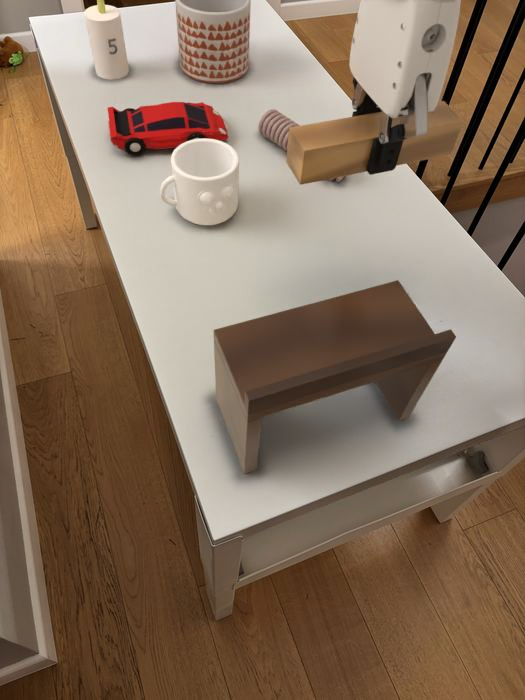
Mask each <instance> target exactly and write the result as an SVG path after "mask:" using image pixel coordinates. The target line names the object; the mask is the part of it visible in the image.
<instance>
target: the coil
mask: <svg viewBox="0 0 525 700" xmlns="http://www.w3.org/2000/svg"><path fill="white" fill-rule="evenodd" d="M296 126H301V125H300V124H299V123H298V122H296V121H294V120H292V119H291V118H290V117H288V116H286V115H285V114H283V113H282V112H280V111H279V110H277V109H274V108H273V109H268V110H267V111H266V112H264V114H263V115H262V116H261V118H260V119H259V122H258V127H257V129H258V132H259V134H260V135H262V136H264V138H267V139H268V140H269V141H271V142H272V143H274V144H275V145H277V146H279V147H280V148H281V149H283V150H284V151H286V152H287V146H288V136H289V128H290V127H296ZM344 178H345V176H342V177H337V178H332V179H327V180H328V181H333V180H335V181H336V183H340V182H341V181H342V180H343V179H344Z"/></svg>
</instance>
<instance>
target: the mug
mask: <svg viewBox="0 0 525 700" xmlns="http://www.w3.org/2000/svg"><path fill="white" fill-rule="evenodd" d="M170 168H171V175H169V176H168V177H166V178H165V179H164V180H163V182H162V183H161V184H160V186H159V197H160V198H161V200H162V202H164V203H165V204H167V205H170V206H175V208H176V211H177V212H178V214H179V215H180V216H181V217H182V218H183V219H185V221H188V222H189V223H192V224H194V225H200V226H215V225H219V224H222V223H224V222H226V221H228V220H229V219H230V218H232V217H233V216H234V214H235V213H236V211H237V210H238V206H239V191H240V190H239V189H240V188H239V187H240V185H239V184H240V183H239V182H240V158H239V154H238V152H237V151H236V149H234V147H233V146H231V145H230V144H229V143H227V142H225V141H223V140H222V141H219V140H215V139H207V138H202V139H194V140H190V141H187V142H185V143H183V144H181V145H179V146H178V147H176V148H174V149H173V151H172V153H171V156H170ZM171 183H172V188H173V197H174V198H173V199H172V198H169V197H168V196H167V194H166V190H167V188H168V186H169V185H170V184H171Z"/></svg>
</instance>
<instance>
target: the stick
mask: <svg viewBox="0 0 525 700" xmlns="http://www.w3.org/2000/svg"><path fill="white" fill-rule="evenodd" d="M381 115H382V112H377V113H371V114H366V115H360V116H354V117H352V116H348V117H343V118H337V119H332V120H326V121H320V122H314V123H309V124H303V125H300V126H296V127H290V128H289V136H288V146H287V151H286V159H285V163H286V164H287V166H288V168H289V170H290V171H291V173H292V174H293V176H294V178H295V179H296V181H297V182H298V184H299V185H300V186H301V185H306V184H312V183H316V182H321V181H326V180H328V179H332V178H335V179H336V178H337V177H342V176H344V177H346V176H351V175H357V174H363V173H366V172H367V165H368V161H369V157H370V153H371V149H372V144H373V141H374V138H377V137H379V130H380V122H381ZM400 119H401V116H400V117H397V118H395V119H394V118H392V125H391V128H392V127H394V126H396V125H399V124H400ZM427 119H428V132H427V134H426V135H423V136H418V137H410V138H408V139H407V140H404V141H403V144H402V147H401V151H400V154H399V158H398V161H397V165H396V167H397V166H401V165H406V164H412V163H417V162H421V161H426V160H430V159H437V158H441V157H446V156H450V155H452V153H453V150H454V148H455V145H456V143H457V140H458V138H459V134H460V132H461V129H462V127H463V124H464V120H463V119H462V118H461V117H460V116H459V115H458V114H457V113H456V112H455V111H454V109H453V108H451V106H449V105H448V104H447V102H446V101H445V100H441V101H438V104H437V106H436V108H435V110H434V111H433V112H430V113H428V112H427ZM367 173H368V172H367Z"/></svg>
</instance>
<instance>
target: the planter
mask: <svg viewBox="0 0 525 700" xmlns="http://www.w3.org/2000/svg"><path fill="white" fill-rule="evenodd" d="M174 1H175V4H174V5H175V16H176V28H177V29H176V30H177V43H178V44H177V45H178V56H179V66H180V69H181V71H182V72H183V73H184V74H185V75H186V76H187V77H189V78H191V79H193V80H195V81H198V82H201V83H206V84H226V83H231V82H234V81H237V80H239V79H241V78H242V77H243V76H244V75H245V74H246V73H247V72H248V69H249V66H250V65H249V63H250V36H251V35H250V32H251V1H252V0H174Z"/></svg>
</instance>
